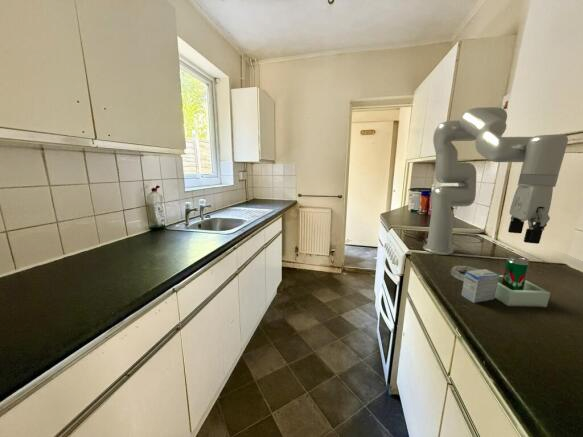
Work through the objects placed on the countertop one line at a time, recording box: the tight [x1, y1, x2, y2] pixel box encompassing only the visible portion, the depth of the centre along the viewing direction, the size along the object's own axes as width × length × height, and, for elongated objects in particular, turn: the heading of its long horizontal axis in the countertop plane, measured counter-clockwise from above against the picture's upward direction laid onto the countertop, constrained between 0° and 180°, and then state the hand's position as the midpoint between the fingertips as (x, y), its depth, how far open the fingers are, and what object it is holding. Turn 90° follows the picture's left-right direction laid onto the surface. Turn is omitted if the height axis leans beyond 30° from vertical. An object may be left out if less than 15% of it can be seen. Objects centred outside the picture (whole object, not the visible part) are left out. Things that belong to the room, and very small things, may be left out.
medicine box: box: [461, 268, 500, 303], centre depth 72 cm, size 8×4×9 cm, turn 102°
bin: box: [494, 274, 551, 308], centre depth 73 cm, size 11×11×5 cm
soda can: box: [502, 255, 530, 290], centre depth 72 cm, size 5×5×12 cm
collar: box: [450, 265, 481, 282], centre depth 86 cm, size 11×11×2 cm
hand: (522, 237), depth 70 cm, fingers open, 9 cm apart
